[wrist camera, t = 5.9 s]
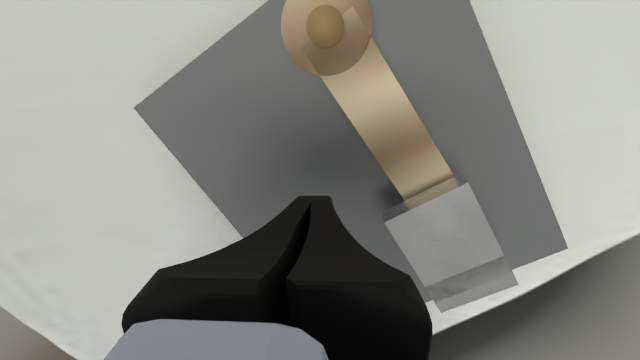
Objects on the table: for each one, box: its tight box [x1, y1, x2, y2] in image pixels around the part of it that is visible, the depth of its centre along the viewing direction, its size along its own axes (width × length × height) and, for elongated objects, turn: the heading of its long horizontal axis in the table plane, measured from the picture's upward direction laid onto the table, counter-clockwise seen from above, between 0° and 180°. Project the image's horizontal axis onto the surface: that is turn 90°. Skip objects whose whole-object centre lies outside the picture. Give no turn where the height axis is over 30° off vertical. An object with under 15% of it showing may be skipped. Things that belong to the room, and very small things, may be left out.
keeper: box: [382, 174, 519, 313], centre depth 19 cm, size 8×5×4 cm, turn 33°
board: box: [134, 0, 568, 303], centre depth 21 cm, size 20×24×1 cm
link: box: [281, 0, 454, 201], centre depth 17 cm, size 16×5×2 cm, turn 36°
